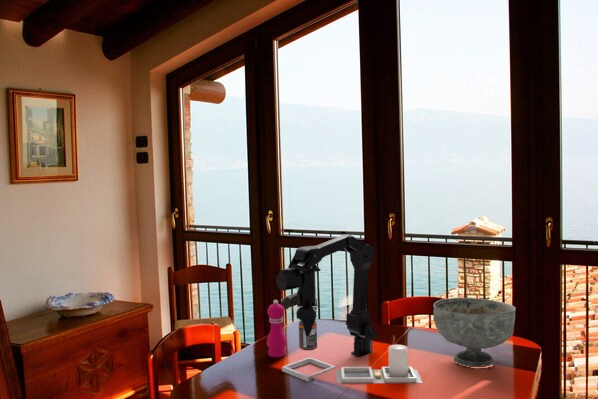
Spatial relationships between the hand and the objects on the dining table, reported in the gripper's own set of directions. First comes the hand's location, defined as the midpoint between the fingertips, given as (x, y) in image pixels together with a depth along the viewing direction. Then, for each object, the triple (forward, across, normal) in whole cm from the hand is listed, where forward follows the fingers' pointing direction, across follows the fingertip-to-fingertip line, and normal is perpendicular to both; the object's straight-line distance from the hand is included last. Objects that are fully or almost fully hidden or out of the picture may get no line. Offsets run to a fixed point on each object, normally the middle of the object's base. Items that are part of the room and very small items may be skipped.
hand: (307, 333), depth 176 cm
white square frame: (+13, 0, 0) cm, 13 cm away
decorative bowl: (+13, -8, +56) cm, 58 cm away
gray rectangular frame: (+13, +8, +22) cm, 27 cm away
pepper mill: (+13, -16, -12) cm, 24 cm away
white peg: (+12, +8, +28) cm, 32 cm away
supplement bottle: (+5, 0, 0) cm, 5 cm away
